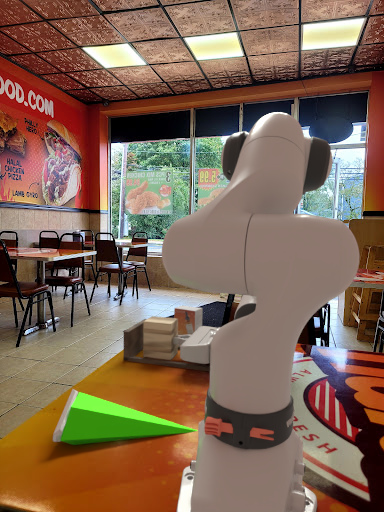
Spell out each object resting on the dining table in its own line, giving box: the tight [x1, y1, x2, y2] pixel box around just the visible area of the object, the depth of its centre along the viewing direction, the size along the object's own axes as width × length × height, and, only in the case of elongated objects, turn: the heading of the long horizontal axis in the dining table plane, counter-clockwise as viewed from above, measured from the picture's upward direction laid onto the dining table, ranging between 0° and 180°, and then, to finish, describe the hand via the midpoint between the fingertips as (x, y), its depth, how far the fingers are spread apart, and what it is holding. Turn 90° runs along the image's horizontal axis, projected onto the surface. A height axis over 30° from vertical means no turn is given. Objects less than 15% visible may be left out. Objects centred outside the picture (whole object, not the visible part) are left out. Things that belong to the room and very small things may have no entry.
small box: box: [173, 305, 203, 335], centre depth 119 cm, size 8×6×10 cm
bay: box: [123, 318, 210, 372], centre depth 100 cm, size 14×24×9 cm, turn 74°
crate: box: [142, 315, 179, 361], centre depth 101 cm, size 6×8×10 cm
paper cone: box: [52, 388, 198, 446], centre depth 65 cm, size 11×5×25 cm
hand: (174, 339), depth 99 cm, fingers closed, pressing on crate
